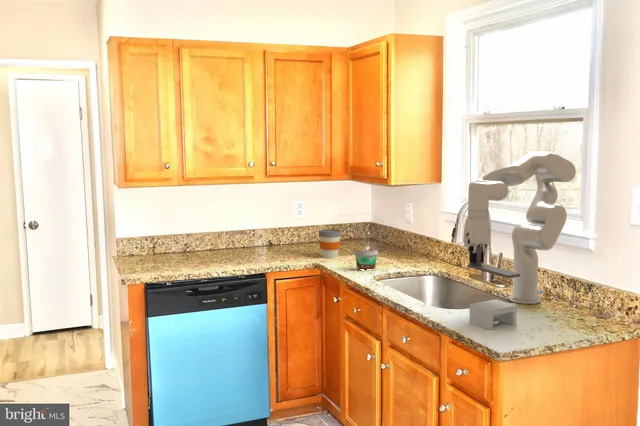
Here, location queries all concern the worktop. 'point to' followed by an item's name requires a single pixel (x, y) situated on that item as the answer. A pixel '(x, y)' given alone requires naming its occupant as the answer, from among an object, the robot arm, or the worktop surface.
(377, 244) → the worktop surface
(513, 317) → the grey footstool block
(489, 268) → the scraper
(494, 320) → the steel token
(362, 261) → the food container
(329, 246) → the reusable coffee cup
